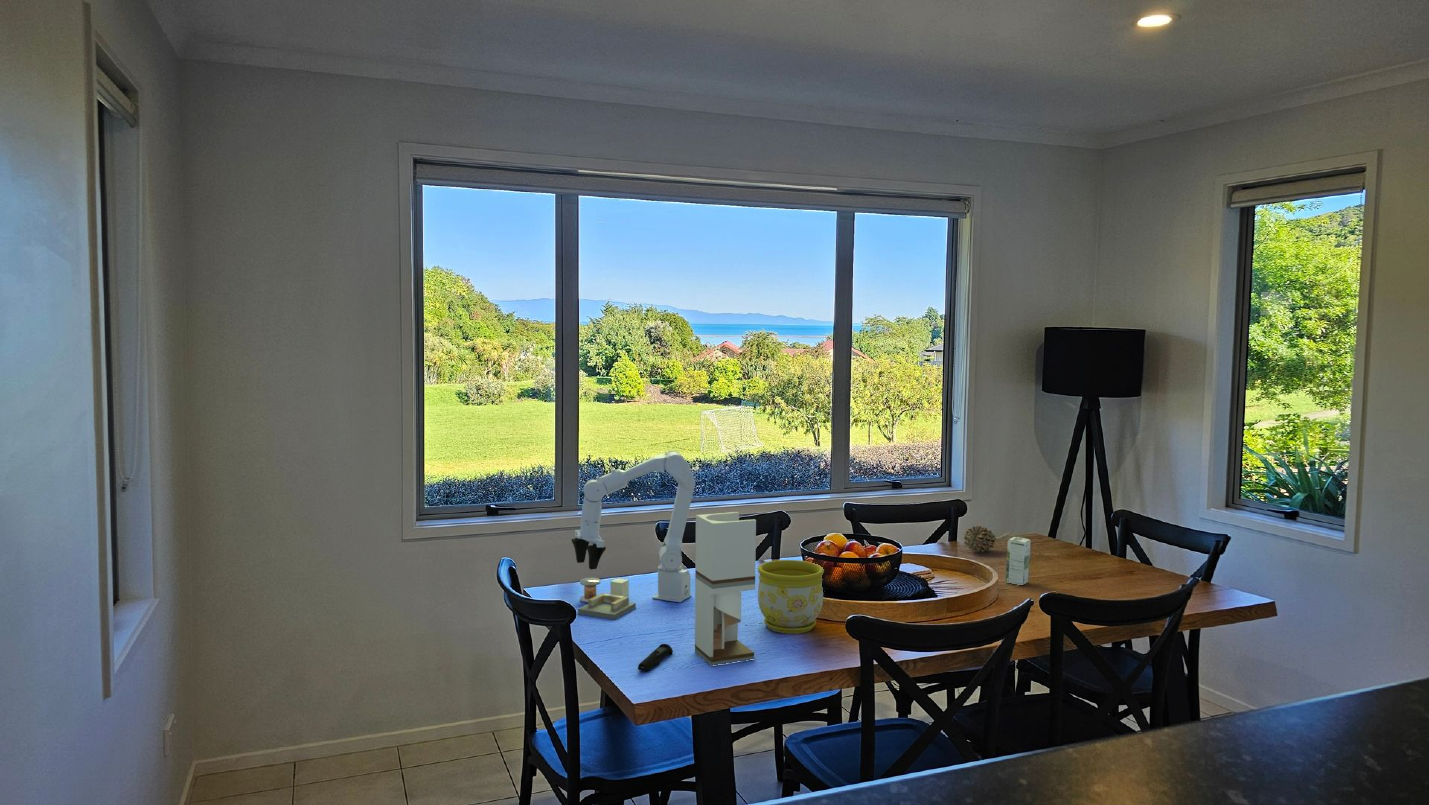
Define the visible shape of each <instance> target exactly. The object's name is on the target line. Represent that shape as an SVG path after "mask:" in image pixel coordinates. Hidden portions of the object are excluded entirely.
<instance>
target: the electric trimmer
mask: <svg viewBox="0 0 1429 805" xmlns="http://www.w3.org/2000/svg"><path fill="white" fill-rule="evenodd" d="M673 653H674V650H673V648H672V647H671V645H670V644H667V643H662V644H660V645H658V647H657V648H655V649H654V650H653V651H652V652H651V653H650V654H649V655H648V656H647V657H645V658H644V659H643V660H642V661H640V662H639V663H638V665H637V670H638V671H643V672H649V671H651V669H653V668H655V667H657V666H659V665H660V663H661V661H662V660H664V659H665V658H666V657H668V656H669V655H670V656H671V655H673Z"/></svg>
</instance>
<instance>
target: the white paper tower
mask: <svg viewBox="0 0 1429 805" xmlns="http://www.w3.org/2000/svg"><path fill="white" fill-rule="evenodd" d="M756 540H757V519H754V518H753V519H744V520H743V519H741V520H740V512H739V511H730V512H719V513H706V514H704V513H703V514H696V515H695V564H694V565H695V574H694V576H695V579H694V580H695V581H694V582H695V585H694V588H695V590H694V591H695V592H694V596H695V598H694V600H695V602H694V603H695V604H694V607H695V608H694V653H695V654H696V655H697V656H698V655H699V656H700V657H699V656H698V657H699V658H701V659H702V658H703V659H704V660H705V661H707V662H708V663H707V664H708V665H709V664H710V665H711V666H713V665H718V664H726V663H732V662H737V661H746V660H750V659H754V660H755V651H753V650H752V649H751V648H750V647H748V646H746V645H745V644H744V643H742V642H741V641H740V640H739V639H738V636H739V635H738V634H739V632H738V631H739V627H738V625H739V623H741V622H742V592H745V591H746V592H747V591H753V590H755V591H756V558H757V557H756V556H757V555H756V553H757V552H756V551H757V548H756V547H757V546H756V545H757V544H756V543H757V541H756ZM703 659H702V660H703ZM704 660H703V661H704ZM705 661H704V662H705ZM710 665H709V666H710ZM711 666H710V667H711Z"/></svg>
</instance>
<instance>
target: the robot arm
mask: <svg viewBox="0 0 1429 805" xmlns="http://www.w3.org/2000/svg"><path fill="white" fill-rule="evenodd" d="M665 471H666V472H667V473H668V474H669V475H670V476H672V477H673V478H674V480H675V481H676V483H677V488H676V494H675V497H674V498H675V499H674V503H673V507H672V511H671V515H670V520H669V524H668V527H667V528H668V529H667V532H666V536H665V537H664V540H663V543H662V545H661V546H660V547H659V549H658V551H657V555H658V559H659V560H660V563H659V565H658V566H657V594H655V595H653V596H652V599H653V600H661V601H668V602H676V603H681V602H683V601H685V600H687V599H688V598H690V597H691V596H692V594H691V574H690V573H691V572H690V571H688V570H686V569H684V568H683V566H682V562H683V557H682V550H683V537H684V534H685V533H684V532H685V530H686V529H685V528H686V524H687V520H688V518H689V517H688V516H689V512H690V507H691V504H692V498H693V495H694V492H695V491H694V490H695V488H696V487H695V486H696V480H695V477H694V474H693V472H692V470H691V467H690V463H689V462H688V461H687V460H686V459H685V457H683V456H682V455H681V453H679V451H677V450H668V451H666V453H660V454H657V455H655V456H653V457H650V458H649V459H646V460H645V461H642V462H641V463H638V464H636V465H634V466H632V467H629V468H627V469H626V470H622V469H620V468H617V469H615V468H612V469H611V470H610V472H609V473H606V474H605V475H602V476H599V475H597V476H596V477H595V479H589V480H588V481H586V483H585V484H584V485H583V488H582V491H583V494H584V496H583V500H582V506H581V514H580V516H581V517H580V529H575V530H574V537H575V538H571V542H572V545H573V548H574V552H575V557H576V558H575V560H576V563H577V564H580V563H581V564H582V563H585V560H586V555H587V553H588V568H589V570H597V568H598V566H599V563H600V559H601V557H602V556H603V554H604V553H605V551H606V549H607V547H606V546H605V540H603V539H602V537H601V536H600V528H601V517H602V507H603V506H602V499H603V498H604V496H608V495H610V494H612V493H615V492H617V491H619V490H621V489H623V488H624V489H625V488H626V487H627V486H628V483H629V481H632V480H635V479H638V478H640V477H641V476H645V475H647V474H650V473H652V472H657V473H661V474H662V473H663V474H664V473H665ZM590 544H591V545H590Z"/></svg>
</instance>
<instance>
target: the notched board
mask: <svg viewBox="0 0 1429 805" xmlns="http://www.w3.org/2000/svg"><path fill="white" fill-rule="evenodd" d="M596 595H597V596H595V597H593V598H591V599H589V600H588V603H586V604H585V605H583V606H581V607H579V608H577V615H582V616H586V617H587V616H588V617H594V618H600V619H608V620H614V621H616V620H618V619H619V618H621V617H623V616H625V615H626V614H628V613H630V612H631V611H633V610H635V609H636V606H637V603H636V602H631V601H630V600H629V598H630V597H629V596H627V597H625V596H618V595H611V594H609V593H603V592H602V593H599V594H596Z"/></svg>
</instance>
